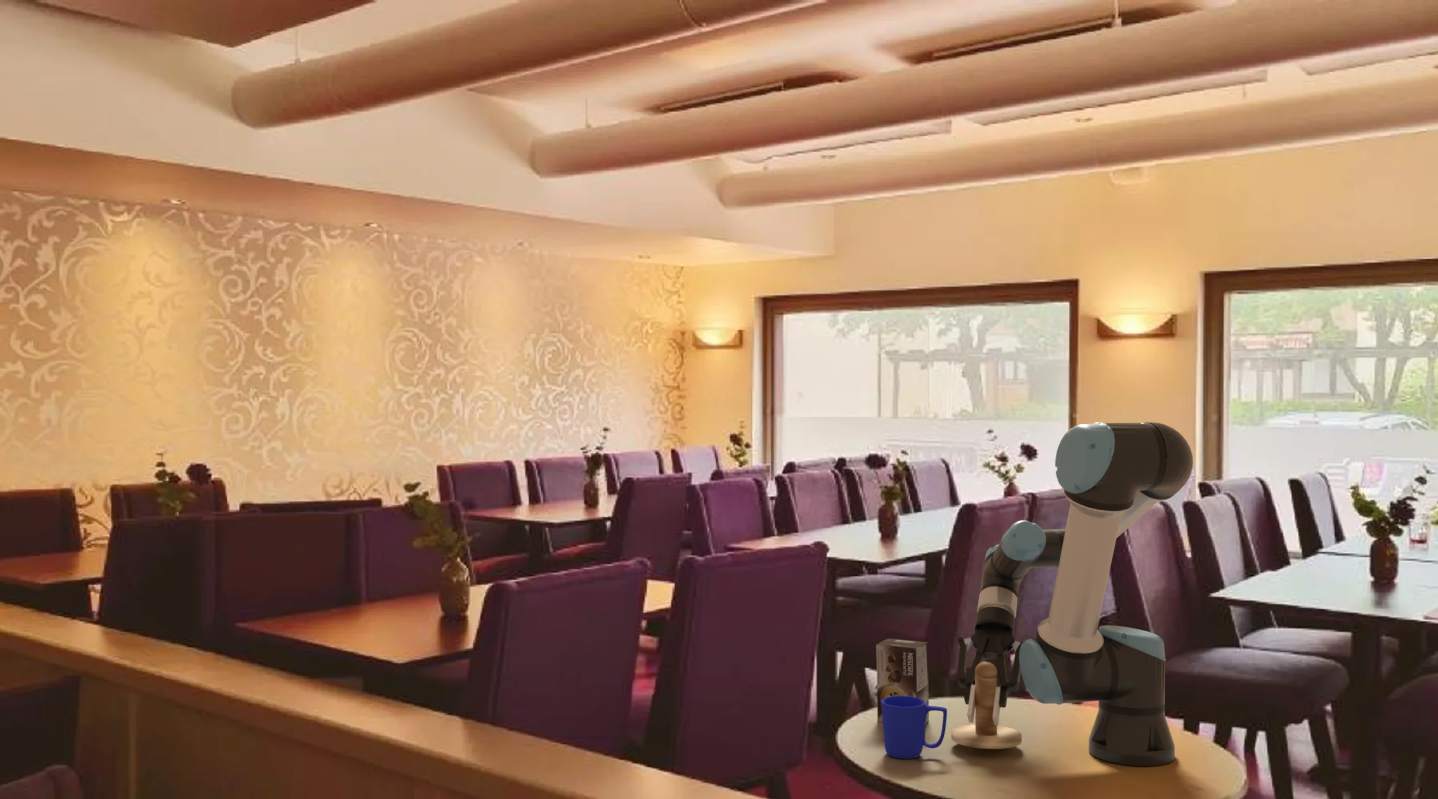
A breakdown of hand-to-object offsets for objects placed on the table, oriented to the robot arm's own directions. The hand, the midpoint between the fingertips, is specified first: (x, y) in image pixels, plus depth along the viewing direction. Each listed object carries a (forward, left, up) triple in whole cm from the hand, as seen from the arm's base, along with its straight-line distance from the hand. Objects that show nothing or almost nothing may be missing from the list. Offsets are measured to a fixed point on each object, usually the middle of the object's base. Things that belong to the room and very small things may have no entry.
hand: (982, 719), depth 228 cm
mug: (+11, +6, -7) cm, 15 cm away
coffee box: (+20, -15, -7) cm, 26 cm away
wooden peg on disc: (0, -4, -5) cm, 6 cm away
